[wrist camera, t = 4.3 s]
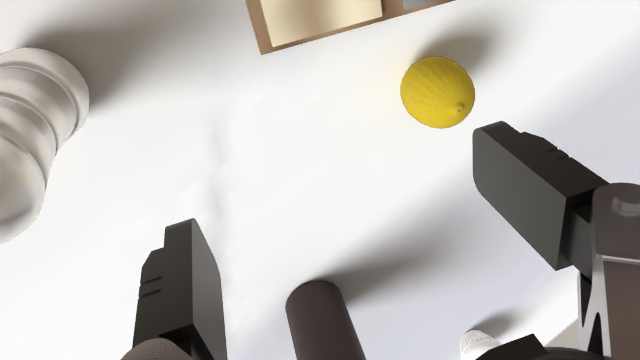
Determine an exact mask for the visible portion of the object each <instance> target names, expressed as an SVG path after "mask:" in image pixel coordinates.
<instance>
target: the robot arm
mask: <svg viewBox="0 0 640 360" xmlns="http://www.w3.org/2000/svg"><path fill="white" fill-rule="evenodd" d="M473 178H474V182H475V184H476V187H477V189H478V191H479V192H480V194H481V195H482V196H483V197H484V198H485V199H486V200H487V201H488V202H489V203H490V204H491V205H492V206H493V207H494V208H495V209H496V210H497V211H498V212H499V213H500V214H501V215H502V216H503V217H504V218H505V219H506V220H507V221H508V222H509V223H510V225H511V226H512V227H513V228H514V229H515V230H516V231H517V232H518V233H519V234H520V235H521V236H522V237H523V238H524V239H525V240H526V241H527V242H528V243H529V244H530V245H531V246H532V247H533V248H534V249H535V250H536V251H537V252H538V253H539V254H540V255H541V256H542V257H543V258H544V259H545V260H546V261H547V262H548V264H549V265H550V266H551V267H552V268H553V269H554V270H555V271H557V270H560V269H563V268H566V267H569V266H571V265H574V266H575V267H576V268H577V269H578V270H579V272H578V278H577V289H578V322H579V323H578V325H579V346H578V349H573V348H565V347H543V345H542V344H541V343H540V342H539V340H538V339H537V338H536V337H535V335H534V334H530V335H528V336H525V337H522V338H519V339H517V340H514V341H511V342H508V343H506V344H503V345H500V346H497V347H495V348H492V349H489V350H488V351H486V352H485V353H484V354H482V355H481V356H479V357H478V358H477V359H475V360H640V185H637V184H632V183H611V184H610V183H608V182H607V181H605V180H604V179H602V178H601V177H599V176H598V175H597V174H595V173H594V172H592V171H591V170H589V169H588V168H586V167H585V166H583V165H582V164H581V163H579V162H578V161H576V160H575V159H573V158H572V157H570V158H569V156H568V155H567V154H566V153H565V152H563V151H562V150H560V149H559V150H558V149H557V147H556V146H554V145H553V144H551V143H550V142H549V141H547V140H546V139H544V138H542V137H539V136H536V135H533V134H530V133H527V132H522V133H519V132H518V131H517V130H515V129H514V128H513V127H511V126H510V125H508V124H507V123H506V122H504V121H499V122H496V123H493V124H490V125H486V126H483V127H480V128H477V129H475V130H474V132H473ZM140 284H141V286H140V288H139V299H138V305H137V313H136V321H135V329H134V337H133V346H132V349H131V350H130V351H129V352H127V353H126V354H125V355H124V356H123V358H122V359H121V360H227V348H226V337H225V325H224V313H223V301H222V290H221V279H220V274H219V270H218V266H217V263H216V261H215V258H214V256H213V254H212V252H211V250H210V248H209V246H208V244H207V242H206V239H205V237H204V235H203V233H202V231H201V229H200V227H199V225H198V223H197V221H196V220H195V219H194V218H192V219H189V220H186V221H183V222H179V223H176V224H173V225H170V226H167V227H166V228H165V238H164V247H163V248H160V249H157V250H154V251H151V253H150V255H149V256H148V258H147V260H146V262H145V263H144V265H143V267H142V272H141V280H140Z"/></svg>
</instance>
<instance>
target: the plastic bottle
mask: <svg viewBox="0 0 640 360" xmlns="http://www.w3.org/2000/svg"><path fill="white" fill-rule="evenodd" d="M88 112H89V90H88V86H87V84H86V82H85V80H84V78H83V76H82V75H81V74H80V72H79V71H78V70H77V69H76V68H75V67H74V66H73V65H72V64H71V63H70V62H69V61H67V60H66V59H65V58H63V57H61V56H59V55H57V54H56V53H53V52H50V51H48V50H44V49H39V48H27V47H25V48H19V49H14V50H10V51H7V52H4V53H2V54H0V244H3V243H5V242H8V241H10V240H11V239H13V238H14V237H16V236H17V235H19V234H20V233H21V232H23V231H24V230H25V229H26V228H28V227H29V226H30V225H31V224H32V223H33V221H34V220H35V219H36V217H37V215H38V214H39V212H40V209H41V206H42V203H43V200H44V196H45V191H46V186H47V181H48V176H49V171H50V168H51V166H52V163H53V161H54V158H55V156H56V154H57V151H58V150H59V149H60V148H61V146H62V145H63V144H64V142H65V141H66V140H67V139H68V138H70V137H71V136H72V135H73V134H74V133H75V132H76V131H77V130H78V129H79V128H80V127H81V126H82V125H83V124H84V122H85V120H86V118H87V116H88Z"/></svg>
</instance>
